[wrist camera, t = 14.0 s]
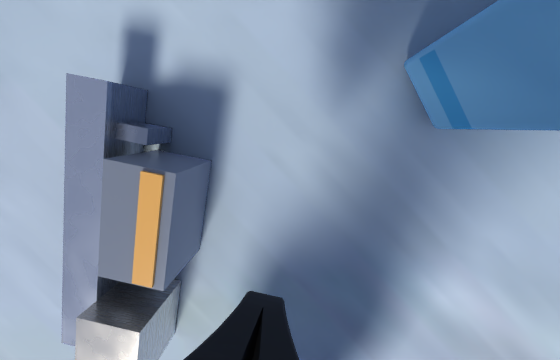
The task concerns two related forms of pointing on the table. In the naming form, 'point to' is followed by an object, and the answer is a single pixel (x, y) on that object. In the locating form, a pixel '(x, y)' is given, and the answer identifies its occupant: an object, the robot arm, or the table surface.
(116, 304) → the rail
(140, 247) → the block
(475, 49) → the data package
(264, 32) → the table surface
